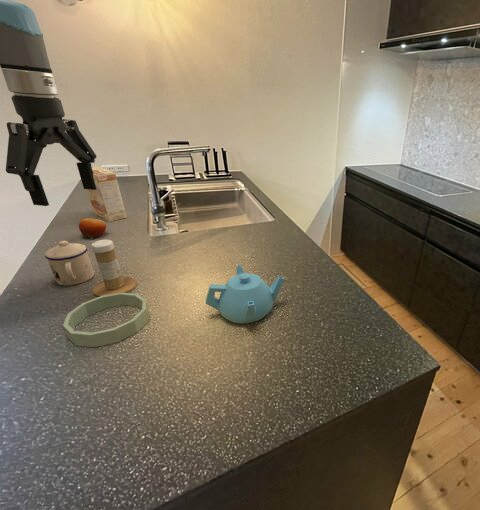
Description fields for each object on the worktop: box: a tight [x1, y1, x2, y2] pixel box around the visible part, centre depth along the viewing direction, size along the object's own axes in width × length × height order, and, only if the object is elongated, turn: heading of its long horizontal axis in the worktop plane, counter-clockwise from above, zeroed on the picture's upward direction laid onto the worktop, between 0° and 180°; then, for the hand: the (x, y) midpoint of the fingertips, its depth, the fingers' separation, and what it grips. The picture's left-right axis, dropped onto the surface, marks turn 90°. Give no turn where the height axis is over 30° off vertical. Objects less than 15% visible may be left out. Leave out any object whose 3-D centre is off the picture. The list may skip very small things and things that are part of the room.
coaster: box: [92, 276, 137, 298], centre depth 86 cm, size 10×10×1 cm
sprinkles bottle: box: [90, 239, 124, 289], centre depth 83 cm, size 5×5×14 cm
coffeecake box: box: [86, 166, 128, 223], centre depth 128 cm, size 15×7×20 cm, turn 55°
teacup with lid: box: [44, 240, 95, 286], centre depth 85 cm, size 12×9×12 cm
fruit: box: [78, 217, 107, 240], centre depth 112 cm, size 8×8×8 cm
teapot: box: [205, 264, 285, 325], centre depth 80 cm, size 15×15×11 cm
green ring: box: [62, 292, 150, 348], centre depth 73 cm, size 16×16×4 cm
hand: (68, 196), depth 72 cm, fingers open, 13 cm apart
